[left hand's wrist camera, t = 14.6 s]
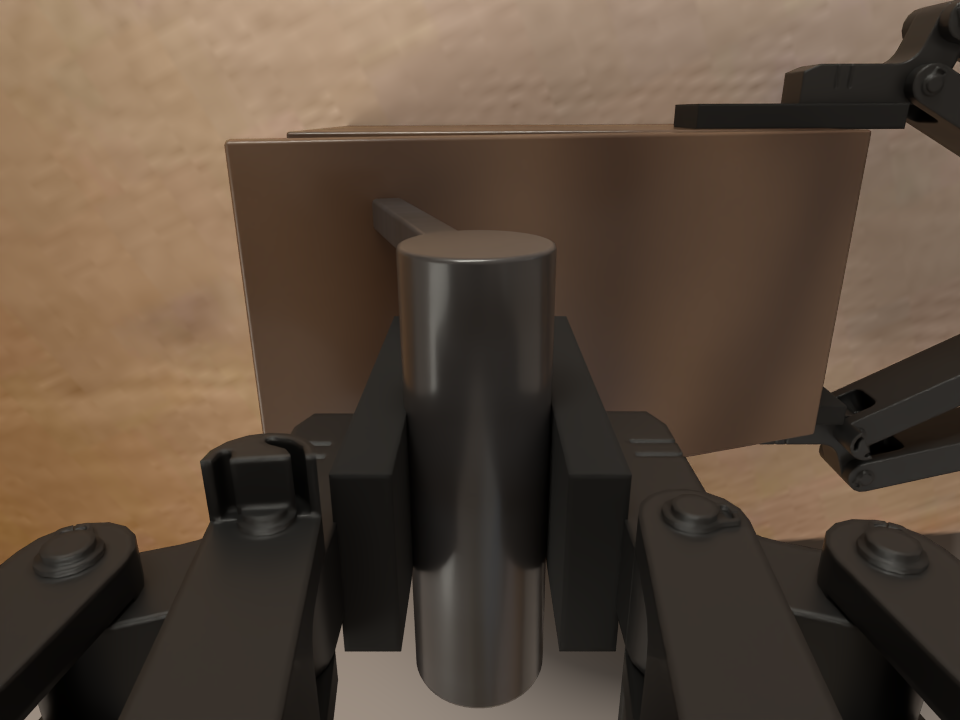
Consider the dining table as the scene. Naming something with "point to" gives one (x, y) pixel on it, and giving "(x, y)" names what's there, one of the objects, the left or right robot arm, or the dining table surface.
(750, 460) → the dining table surface
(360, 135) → the chest
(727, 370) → the lid
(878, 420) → the right robot arm
